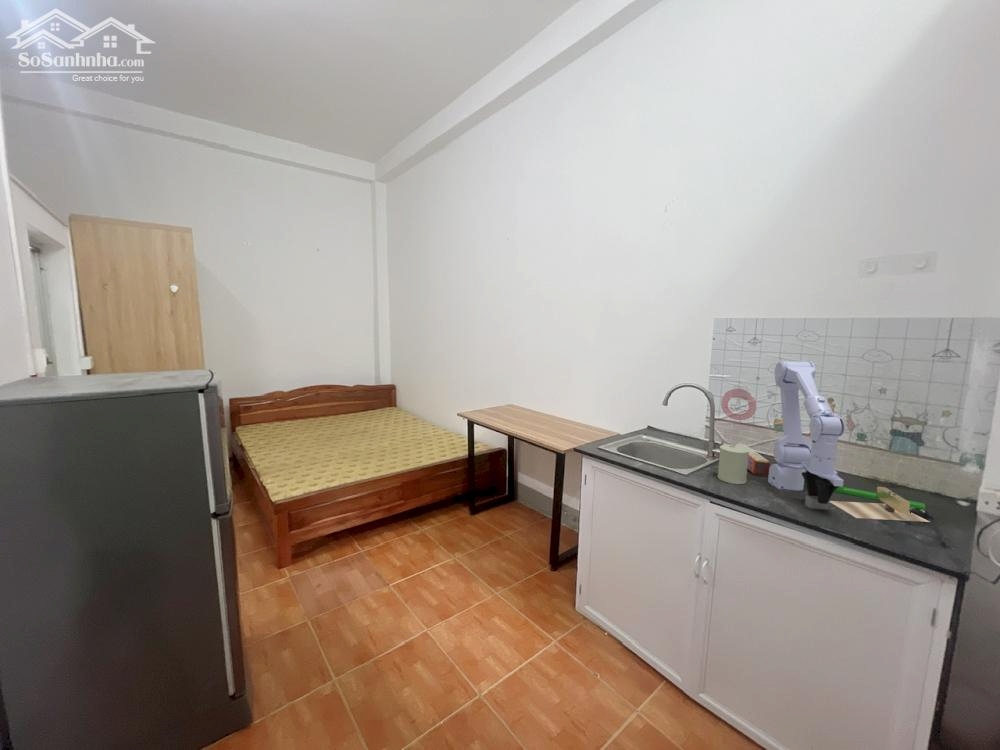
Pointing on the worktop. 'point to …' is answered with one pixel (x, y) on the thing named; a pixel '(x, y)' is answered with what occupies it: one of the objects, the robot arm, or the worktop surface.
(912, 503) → the green onion
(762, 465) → the snack package
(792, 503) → the worktop surface
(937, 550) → the worktop surface
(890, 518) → the board
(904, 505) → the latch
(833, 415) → the robot arm
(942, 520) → the worktop surface
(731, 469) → the can
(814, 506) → the cover
